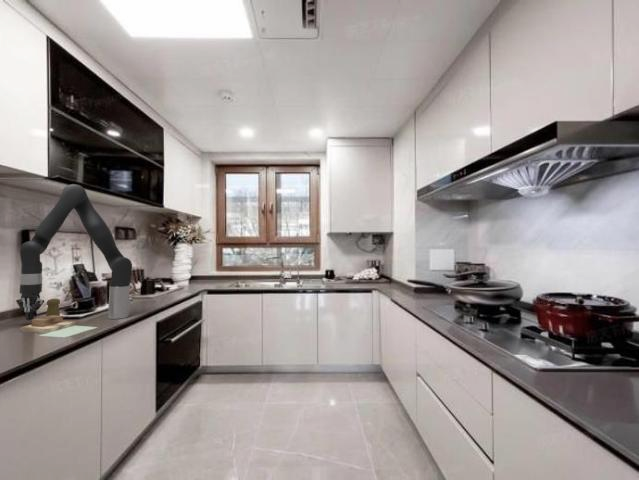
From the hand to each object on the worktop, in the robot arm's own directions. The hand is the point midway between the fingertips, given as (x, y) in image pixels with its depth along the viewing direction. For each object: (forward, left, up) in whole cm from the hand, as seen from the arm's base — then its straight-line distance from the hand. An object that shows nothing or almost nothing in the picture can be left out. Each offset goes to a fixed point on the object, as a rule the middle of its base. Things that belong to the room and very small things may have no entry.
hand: (29, 319), depth 137 cm
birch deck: (0, +11, -4) cm, 11 cm away
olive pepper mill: (-13, -2, -4) cm, 13 cm away
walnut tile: (0, +10, 0) cm, 10 cm away
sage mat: (+2, +25, -4) cm, 25 cm away
